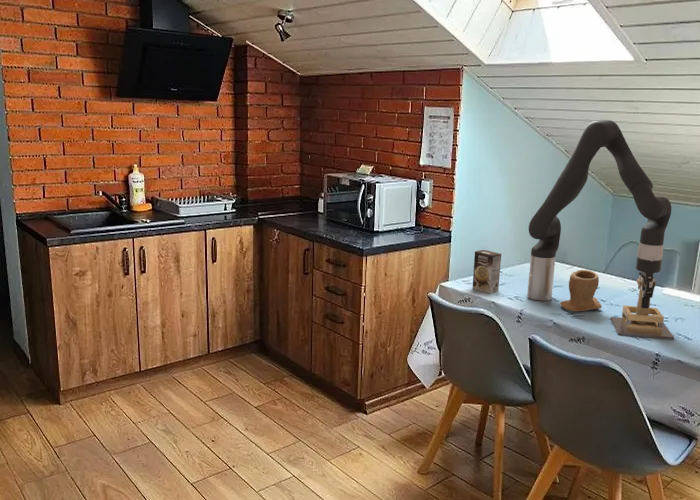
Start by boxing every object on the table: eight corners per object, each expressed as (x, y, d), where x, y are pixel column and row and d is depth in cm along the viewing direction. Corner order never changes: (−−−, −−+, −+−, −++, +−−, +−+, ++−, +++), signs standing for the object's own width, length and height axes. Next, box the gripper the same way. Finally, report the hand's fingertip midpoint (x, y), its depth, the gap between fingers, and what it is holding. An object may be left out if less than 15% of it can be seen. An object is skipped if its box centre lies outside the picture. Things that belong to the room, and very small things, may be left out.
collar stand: (617, 334, 204) (620, 316, 203) (610, 319, 219) (612, 302, 218) (673, 340, 200) (676, 321, 198) (662, 323, 215) (664, 306, 214)
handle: (640, 319, 213) (645, 277, 209) (653, 325, 207) (659, 283, 203) (628, 320, 211) (633, 278, 208) (642, 326, 205) (647, 283, 202)
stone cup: (575, 316, 222) (579, 276, 218) (555, 306, 233) (559, 268, 230) (610, 312, 226) (614, 273, 223) (588, 303, 237) (592, 265, 234)
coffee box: (471, 289, 254) (473, 251, 250) (481, 286, 258) (483, 249, 255) (489, 294, 247) (492, 255, 244) (499, 291, 252) (502, 253, 248)
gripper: (633, 251, 211) (627, 298, 215) (641, 261, 198) (635, 311, 202) (657, 252, 210) (650, 300, 214) (667, 262, 196) (660, 313, 200)
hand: (643, 305), depth 208 cm, fingers closed on handle, 4 cm apart
